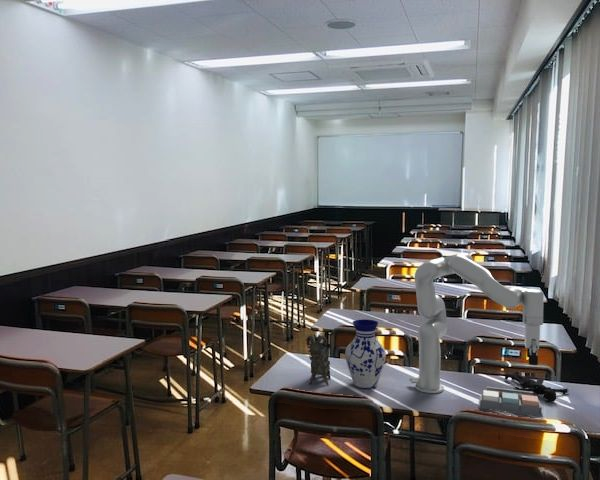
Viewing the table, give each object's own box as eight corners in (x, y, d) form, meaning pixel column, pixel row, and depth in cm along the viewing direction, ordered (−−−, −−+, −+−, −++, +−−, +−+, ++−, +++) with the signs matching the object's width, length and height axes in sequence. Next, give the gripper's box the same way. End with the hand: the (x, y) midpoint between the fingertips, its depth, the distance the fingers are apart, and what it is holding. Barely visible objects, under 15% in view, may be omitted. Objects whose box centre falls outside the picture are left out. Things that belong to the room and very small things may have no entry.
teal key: (502, 404, 210) (502, 397, 210) (502, 399, 216) (502, 392, 216) (518, 406, 208) (518, 399, 208) (517, 400, 214) (517, 393, 214)
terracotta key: (522, 406, 208) (522, 399, 207) (521, 401, 213) (521, 394, 213) (538, 408, 206) (538, 401, 205) (537, 403, 211) (537, 396, 211)
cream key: (483, 402, 213) (483, 395, 213) (483, 396, 219) (483, 389, 218) (498, 403, 211) (498, 396, 211) (498, 398, 216) (498, 391, 216)
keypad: (479, 408, 213) (479, 394, 212) (479, 398, 223) (480, 385, 223) (542, 416, 204) (542, 402, 204) (540, 405, 215) (540, 392, 214)
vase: (386, 393, 230) (386, 328, 227) (344, 391, 232) (344, 327, 230) (384, 378, 249) (385, 318, 246) (345, 377, 251) (345, 317, 248)
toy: (482, 382, 242) (524, 404, 213) (484, 367, 242) (526, 387, 213) (534, 383, 249) (581, 405, 220) (535, 369, 249) (583, 389, 220)
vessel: (305, 391, 233) (302, 338, 233) (313, 376, 258) (311, 328, 257) (328, 391, 231) (326, 337, 231) (334, 376, 256) (332, 327, 256)
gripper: (521, 314, 216) (520, 354, 218) (524, 324, 200) (523, 366, 202) (540, 315, 214) (540, 355, 215) (545, 325, 198) (544, 368, 199)
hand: (532, 361), depth 208 cm, fingers open, 9 cm apart
